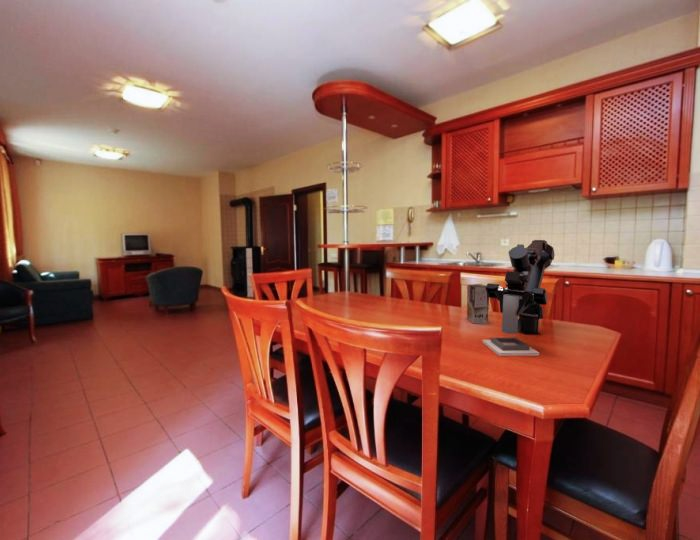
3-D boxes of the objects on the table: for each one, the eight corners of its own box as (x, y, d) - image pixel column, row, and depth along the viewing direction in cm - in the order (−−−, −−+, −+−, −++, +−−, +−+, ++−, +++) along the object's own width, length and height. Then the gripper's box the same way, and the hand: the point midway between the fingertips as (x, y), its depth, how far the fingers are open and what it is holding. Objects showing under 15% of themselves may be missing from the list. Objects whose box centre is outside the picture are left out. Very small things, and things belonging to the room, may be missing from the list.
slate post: (507, 328, 115) (509, 293, 114) (520, 332, 111) (522, 296, 110) (498, 331, 113) (500, 295, 111) (511, 334, 109) (513, 297, 107)
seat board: (518, 342, 119) (518, 335, 119) (539, 355, 106) (539, 348, 106) (482, 342, 119) (482, 335, 118) (499, 355, 106) (499, 348, 106)
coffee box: (488, 324, 143) (490, 287, 141) (473, 323, 143) (475, 287, 141) (480, 318, 152) (482, 283, 150) (466, 318, 152) (467, 283, 150)
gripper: (488, 260, 118) (475, 295, 111) (548, 264, 106) (537, 303, 99) (494, 280, 125) (482, 314, 118) (551, 285, 113) (541, 323, 106)
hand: (509, 313), depth 110 cm, fingers closed on slate post, 5 cm apart
